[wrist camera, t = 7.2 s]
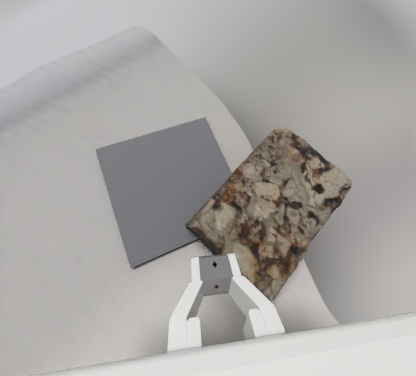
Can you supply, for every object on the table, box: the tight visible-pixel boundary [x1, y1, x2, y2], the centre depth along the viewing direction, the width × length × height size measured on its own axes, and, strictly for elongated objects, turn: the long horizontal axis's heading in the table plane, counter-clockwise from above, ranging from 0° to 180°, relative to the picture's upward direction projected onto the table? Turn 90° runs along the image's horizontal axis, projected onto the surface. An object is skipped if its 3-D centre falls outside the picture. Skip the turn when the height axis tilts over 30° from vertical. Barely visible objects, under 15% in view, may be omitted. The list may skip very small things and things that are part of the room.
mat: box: [95, 118, 232, 268], centre depth 25 cm, size 18×18×1 cm
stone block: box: [185, 127, 352, 302], centre depth 22 cm, size 13×7×20 cm
